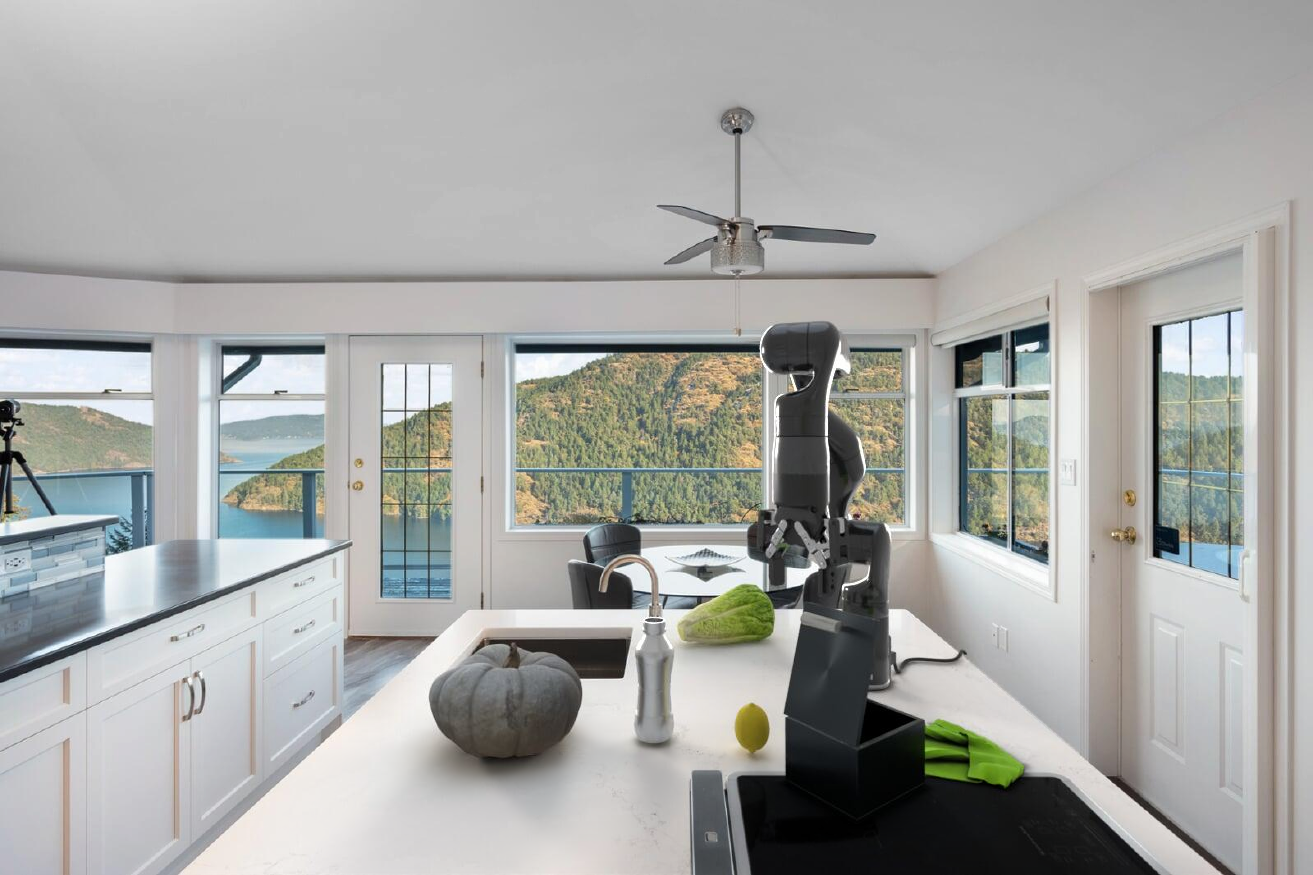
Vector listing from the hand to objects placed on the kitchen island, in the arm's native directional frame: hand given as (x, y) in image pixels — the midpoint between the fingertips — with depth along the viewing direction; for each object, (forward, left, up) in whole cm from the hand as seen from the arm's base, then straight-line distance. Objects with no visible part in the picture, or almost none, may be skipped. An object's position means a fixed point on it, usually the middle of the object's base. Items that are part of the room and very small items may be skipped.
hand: (800, 590), depth 88 cm
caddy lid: (-6, 0, -12) cm, 14 cm away
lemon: (-7, -16, -30) cm, 35 cm away
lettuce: (-42, -62, -30) cm, 80 cm away
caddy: (-12, 0, -30) cm, 32 cm away
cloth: (-33, +2, -30) cm, 44 cm away
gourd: (+23, -43, -30) cm, 58 cm away
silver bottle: (+3, -29, -30) cm, 42 cm away
